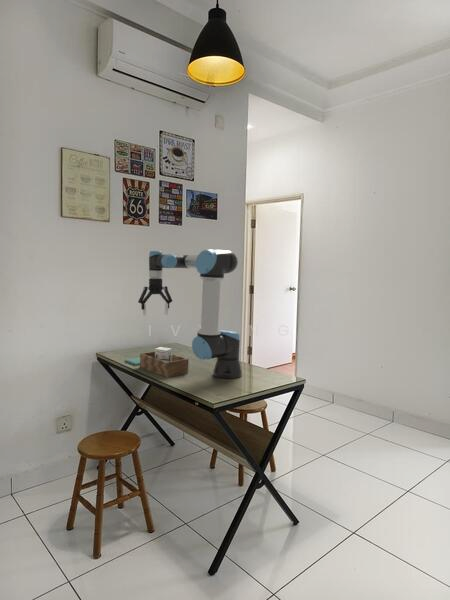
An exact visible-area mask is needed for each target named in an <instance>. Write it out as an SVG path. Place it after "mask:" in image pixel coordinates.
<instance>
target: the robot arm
mask: <svg viewBox="0 0 450 600" xmlns="http://www.w3.org/2000/svg"><path fill="white" fill-rule="evenodd" d="M148 254H149V256H148V274H149V275H148V278H149V279H148V286H143V290H142V293H141V294H140V297H139V298H138V301H137V302H138V303H139V304H141V310H142V316H147V301H148V300H149V299H150V298H151V296H152V295H159V296H161V298H162V300H164V301H165V303H164V315H169V309H170V304H171V303H172V302H173V299H172V297H171V294H170V292H169V290H168V286H165V285H164V286H163V269H196V271H197V272H198V273H199V277H200V279H201V280H202V290H201V291H202V295H201V315H200V316H201V318H200V328H199V329H198V331H196V332H197V334H196V335H197V336H195V337H194V338H193V339H192V341H191V348H192V352H193V354H194V356H195V357H196V358H197V359H199V360H202V361H203V360H210V359H216V360H215V365H214V367H213V369H212V376H213V377H216V378H220V379H235V378H240V377H242V376H243V371H242V370H243V369H242V368H241V367H242V366H241V363H240V341H241V340H240V334H239V333H238V332H236V331H232V330H231V331H230V330H224V329H223V330H222V329H219V317H220V315H219V314H220V313H219V312H220V299H221V281H222V280H223V279H224V278H225V274H230V273H233V272H234V271H235V270H236V269H237V267H238V263H239V261H238V257H237V255H236V254H235V253H234V252H233V251H231V250H227V249H226V250H225V249H212V248H211V249H204V250H203V249H202V251H200V252H199V253H198V254H169V253H167V254H163V252H162V250H161V251H160V250H150V251H149V253H148ZM148 291H149V292H148ZM163 291H164V292H163ZM147 292H148V293H147Z"/></svg>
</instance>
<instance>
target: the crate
mask: <svg viewBox="0 0 450 600" xmlns="http://www.w3.org/2000/svg"><path fill="white" fill-rule="evenodd" d="M139 357H140V365H139V367H140V368H141V369H145V370H147V371H149V372H152V373H155V374H157V375H159V376H162V377H165V378H170V377H175V376H180V375H184V374H185V375H186V374H189V358H186V357H184V356H180V355H177V354H174V353H172V362H165V361H162V360H159V359H156V358H155V351H148V352H143V353H140V354H139Z"/></svg>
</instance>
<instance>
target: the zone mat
mask: <svg viewBox="0 0 450 600" xmlns="http://www.w3.org/2000/svg"><path fill="white" fill-rule="evenodd" d="M124 362H125V363H127V364H131V365H133V366H140V356H139V357H138V356H137V357H133V358H132V357H131V358H127V359H124Z"/></svg>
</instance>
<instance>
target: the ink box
mask: <svg viewBox="0 0 450 600" xmlns="http://www.w3.org/2000/svg"><path fill="white" fill-rule="evenodd" d="M154 352H155V358H156V359H159V360H162V361H165V362H172V354H173V348H169V347H164V346H163V347H162V346H159V347H155V348H154Z"/></svg>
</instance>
